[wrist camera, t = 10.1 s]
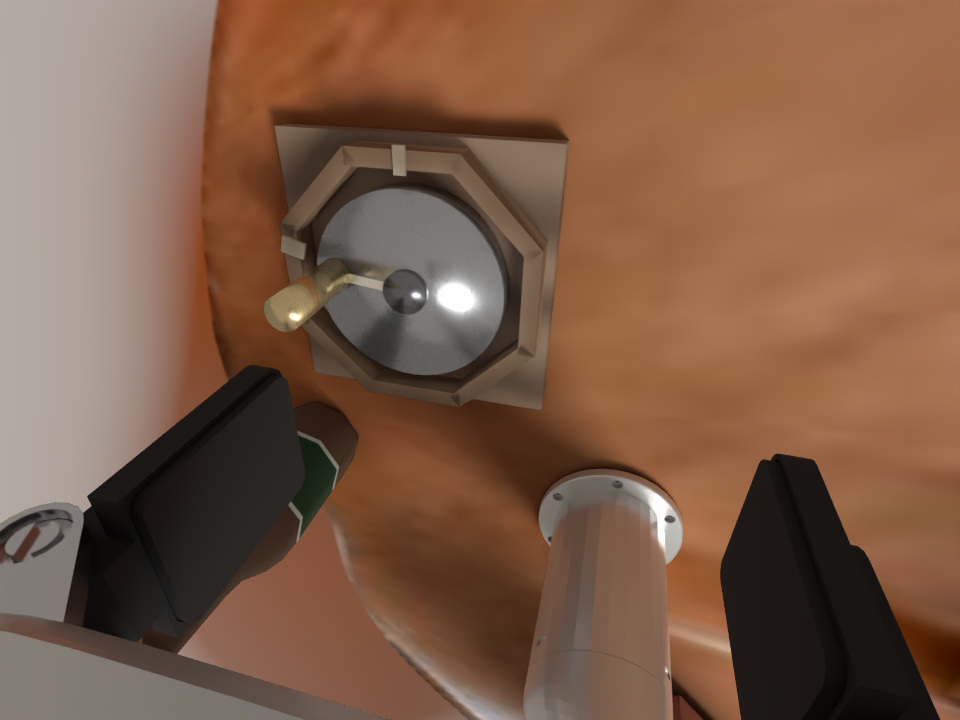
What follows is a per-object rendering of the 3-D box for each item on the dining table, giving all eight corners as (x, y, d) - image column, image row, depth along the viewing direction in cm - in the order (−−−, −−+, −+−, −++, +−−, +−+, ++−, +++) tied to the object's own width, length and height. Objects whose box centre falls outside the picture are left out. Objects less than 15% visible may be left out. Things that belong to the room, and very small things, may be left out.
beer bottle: (368, 466, 53) (204, 720, 33) (299, 458, 55) (106, 693, 35) (353, 402, 49) (158, 645, 29) (280, 395, 51) (51, 619, 31)
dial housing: (543, 400, 44) (535, 428, 41) (323, 364, 48) (300, 387, 45) (569, 140, 34) (561, 150, 30) (286, 123, 38) (252, 130, 34)
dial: (524, 204, 35) (492, 248, 27) (495, 380, 42) (463, 453, 34) (327, 165, 37) (246, 196, 29) (332, 339, 44) (269, 399, 37)
